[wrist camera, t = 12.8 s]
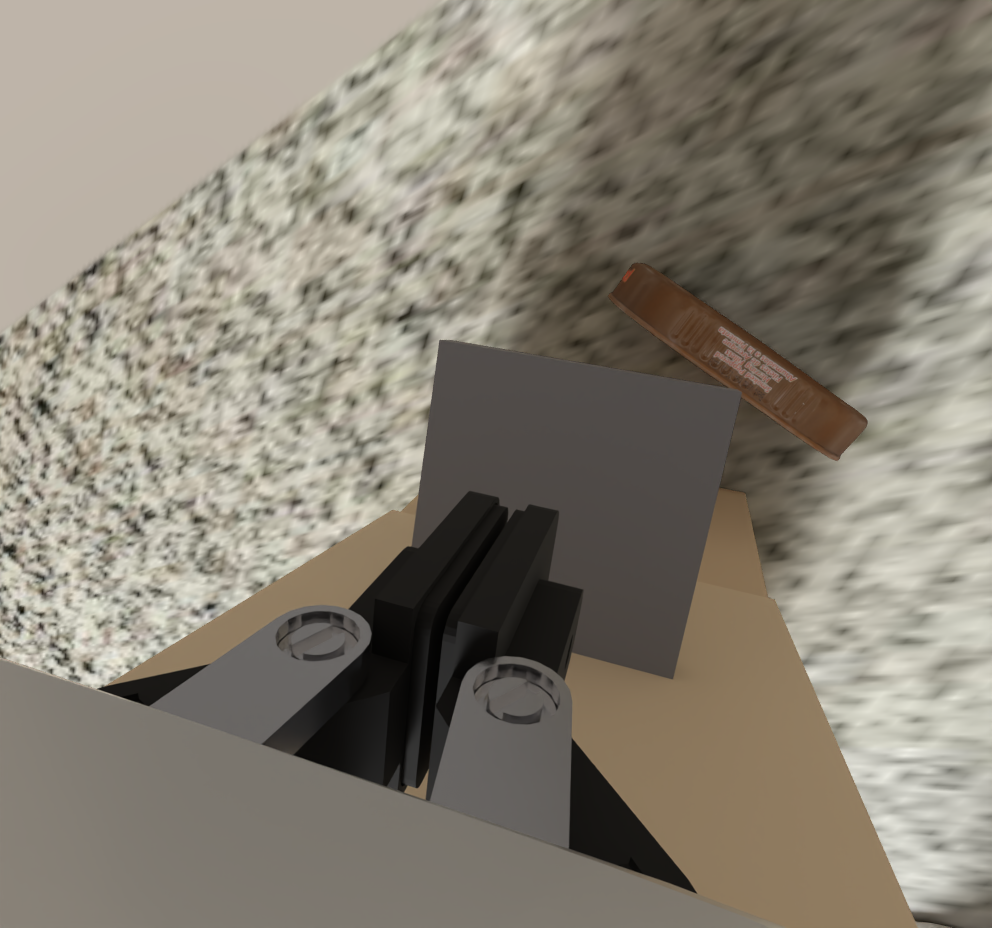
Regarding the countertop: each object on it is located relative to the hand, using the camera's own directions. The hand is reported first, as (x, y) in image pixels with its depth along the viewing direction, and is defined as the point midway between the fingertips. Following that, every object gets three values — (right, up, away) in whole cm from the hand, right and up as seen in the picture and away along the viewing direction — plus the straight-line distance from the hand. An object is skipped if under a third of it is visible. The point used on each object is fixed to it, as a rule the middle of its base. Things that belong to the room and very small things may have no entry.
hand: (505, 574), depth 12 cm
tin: (+14, +9, +27) cm, 32 cm away
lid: (+1, -4, +10) cm, 10 cm away
